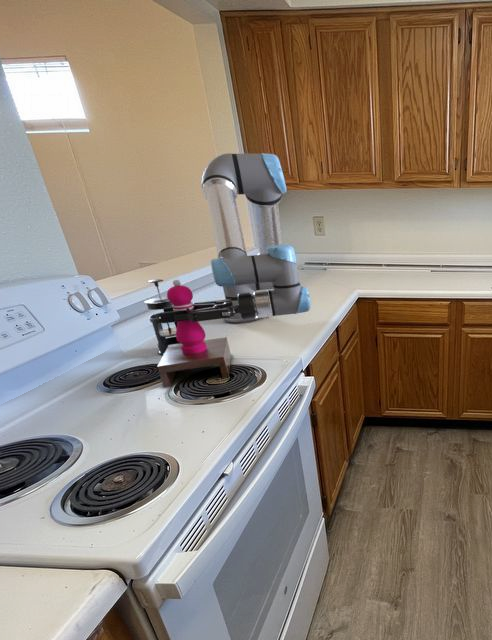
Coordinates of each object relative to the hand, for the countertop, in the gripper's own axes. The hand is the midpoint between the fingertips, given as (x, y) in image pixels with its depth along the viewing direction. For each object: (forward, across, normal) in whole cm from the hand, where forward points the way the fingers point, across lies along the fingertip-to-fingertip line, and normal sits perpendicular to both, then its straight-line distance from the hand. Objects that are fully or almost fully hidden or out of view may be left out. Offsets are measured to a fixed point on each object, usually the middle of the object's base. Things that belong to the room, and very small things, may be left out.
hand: (163, 315), depth 112 cm
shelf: (-5, 0, -17) cm, 18 cm away
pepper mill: (-5, 0, -11) cm, 12 cm away
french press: (+4, +22, -17) cm, 28 cm away
